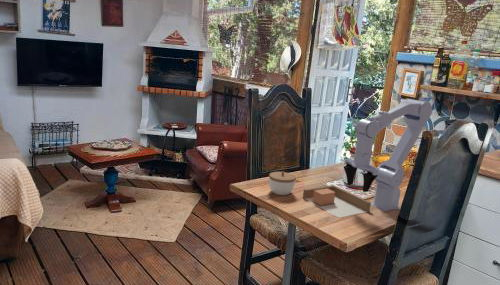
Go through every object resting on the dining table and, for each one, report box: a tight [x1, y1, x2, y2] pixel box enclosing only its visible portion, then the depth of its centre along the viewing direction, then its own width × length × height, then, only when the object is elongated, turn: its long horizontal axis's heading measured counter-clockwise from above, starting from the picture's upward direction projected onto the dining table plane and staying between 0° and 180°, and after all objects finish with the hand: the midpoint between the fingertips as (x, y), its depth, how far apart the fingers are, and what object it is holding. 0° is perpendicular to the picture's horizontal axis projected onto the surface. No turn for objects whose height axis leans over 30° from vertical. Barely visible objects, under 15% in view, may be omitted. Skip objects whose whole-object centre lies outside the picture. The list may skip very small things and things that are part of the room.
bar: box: [313, 189, 335, 206], centre depth 145 cm, size 7×4×4 cm, turn 122°
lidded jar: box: [268, 171, 297, 196], centre depth 152 cm, size 11×11×9 cm
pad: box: [310, 201, 336, 208], centre depth 146 cm, size 8×6×1 cm
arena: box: [302, 184, 372, 219], centre depth 145 cm, size 16×20×4 cm
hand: (357, 187), depth 139 cm, fingers open, 7 cm apart
